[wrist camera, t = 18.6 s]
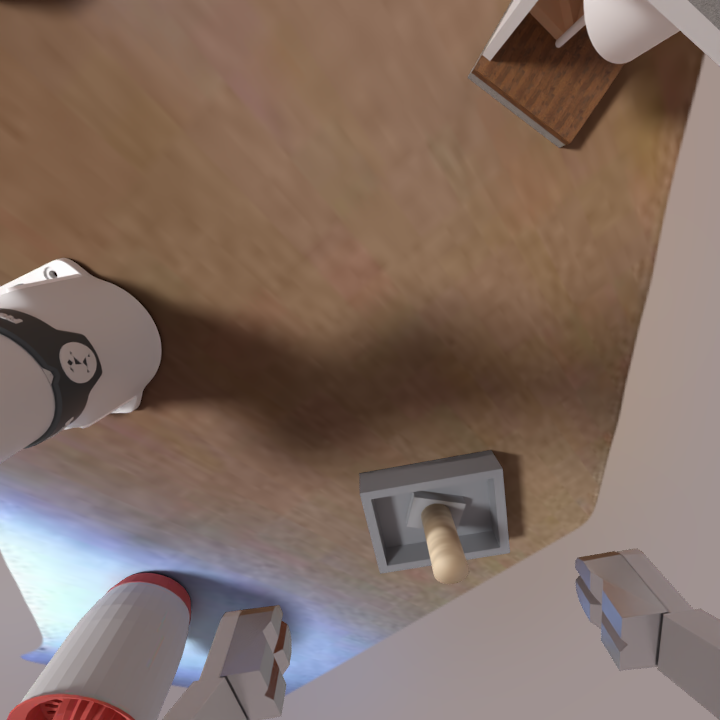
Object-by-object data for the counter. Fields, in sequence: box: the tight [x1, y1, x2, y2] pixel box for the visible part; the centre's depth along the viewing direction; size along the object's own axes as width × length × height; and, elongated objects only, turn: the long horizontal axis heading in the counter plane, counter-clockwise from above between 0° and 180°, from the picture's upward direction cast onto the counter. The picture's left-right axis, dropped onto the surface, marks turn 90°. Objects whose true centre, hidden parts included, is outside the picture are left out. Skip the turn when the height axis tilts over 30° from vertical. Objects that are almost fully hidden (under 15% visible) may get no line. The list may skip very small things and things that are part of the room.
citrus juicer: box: [7, 573, 191, 720], centre depth 48 cm, size 16×17×20 cm
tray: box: [360, 450, 510, 574], centre depth 49 cm, size 18×14×4 cm
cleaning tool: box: [405, 491, 469, 584], centre depth 46 cm, size 7×5×10 cm
